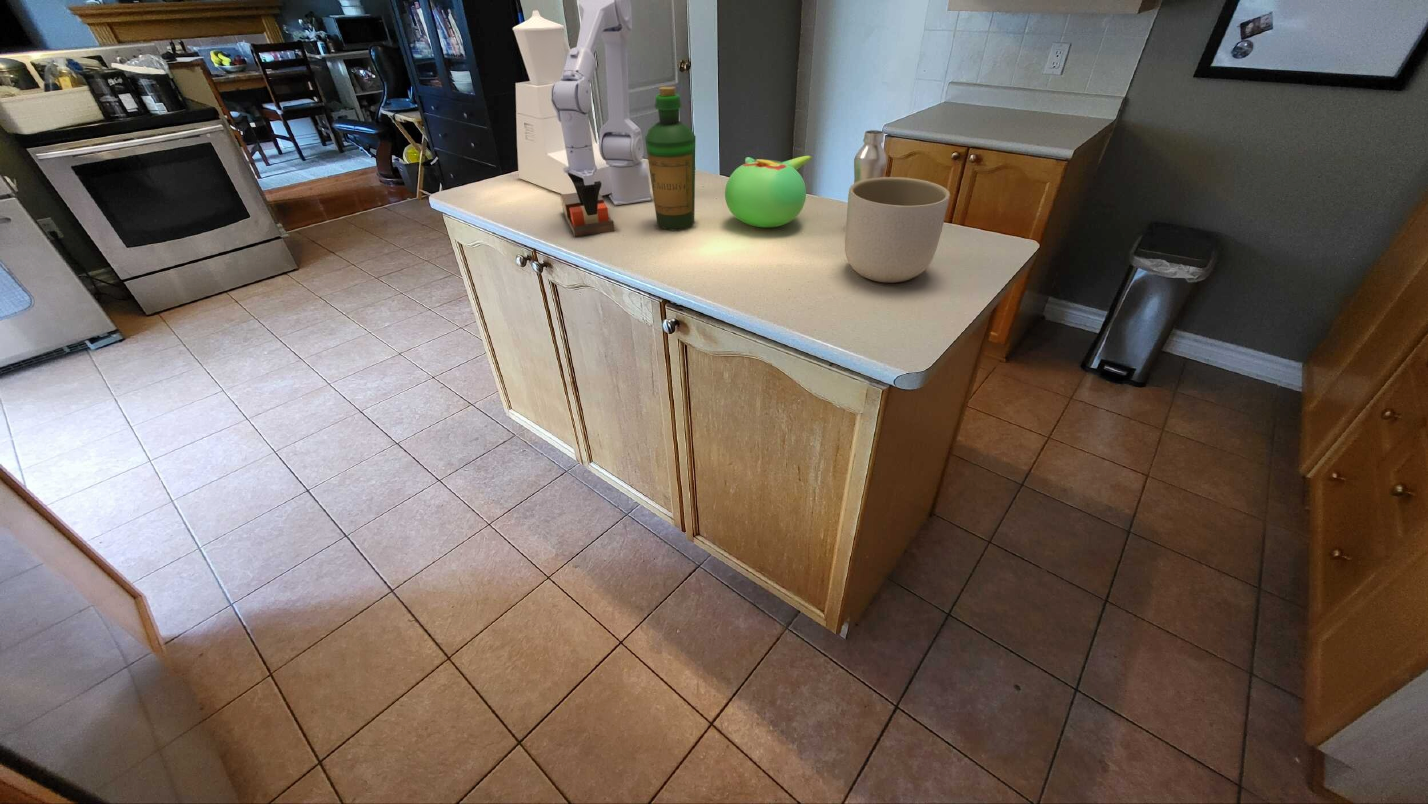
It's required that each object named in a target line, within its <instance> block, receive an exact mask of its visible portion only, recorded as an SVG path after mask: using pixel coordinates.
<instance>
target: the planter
mask: <svg viewBox="0 0 1428 804" xmlns="http://www.w3.org/2000/svg"><path fill="white" fill-rule="evenodd" d="M950 200H951V192H950V191H949V190H948V189H947V188H946V187H944V186H942V185H940V184H938V183H935V182H932V181H928V180H924V179H919V178H911V177H903V176H901V177H900V176H883V177H880V178H871V179H866V180H862V181H859V182H856V183H854V182H853V183H852V185H850V187H849V189H848V197H847V207H846V217H845V219H846V220H845V229H844V253H845V258H846V260H847V262H848V264H849V266H850V267H851V268H852V269H853V270H854V272H856V273H857V274H858V275H860V276H862V277H863V278H865V279H868V280H869V281H874V282H878V283H890V284H891V283H892V284H895V283H902V282H906V281H910V280H911V279H913V278H916V277H918V276H919V275H921V274H922V273H923V272H925V271H926V270H927V269H928V267H930V265H931V263H932V261H933V260H934V257H935V254H936V251H937V248H938V246H939V242H940V239H941V236H942V235H941V234H942V231H943V227H944V223H945V220H946V215H947V211H948V208H949V203H950Z"/></svg>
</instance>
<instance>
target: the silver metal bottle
mask: <svg viewBox="0 0 1428 804" xmlns="http://www.w3.org/2000/svg"><path fill="white" fill-rule="evenodd" d="M884 134H885V132H884V131H882V130H877V129H874V130H873V129H870V130H865V132H864V136H863V140H862V141H863V145H862V147H860V148H859V150H857V153H856V154H855V157H854V159H853V174H854V176H853V177H854V179H853V184H854V183H856V182H859V181H862V180H866V179H871V178H880V177H884V173H885V169H886V166H887V161H888V159H887V154H886V152H885V149H884V148H883V146H882V143H884V136H885V135H884Z"/></svg>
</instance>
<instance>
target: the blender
mask: <svg viewBox="0 0 1428 804" xmlns="http://www.w3.org/2000/svg"><path fill="white" fill-rule="evenodd" d="M531 13H532V14H531V17H530V18H528V19H527V20H525V21H523V22H521V23H518V24H517V25H515V26H513V27H512V31H513V33H514V36H515V39H516V43H517V45H518V48H519V52H520V54H521V57H522V60H523V64H524V67H525V69H526V74H527V75H528V79H529V80H527V81H521V82H515V111H516V112H515V119H516V149H517V171H518V173H517V174H518V178H519V179H521V180H524V181H525V182H528V183H532V184H534V185H537V186H539V187H542V188H544V189H547V190H550V191H553V192H555V193H558V194H560V195H563V194H570V193H577V192H576V189H575V186H574V184H573V182H572V180H571V178H570V177H569V176H568V174H567V173H564V170H563V168H566V167H569V166H568V160H567V154H566V148H565V143H564V137H563V131H562V125H561V122H559V120H558V118H557V113H556V111H555V109H554V107H553V105H552V102H551V98H552V97H551V90H552V86H553V85H554V84H555V83H556V82H558V81H560V80H561V76H562V73H563V70H564V67H565V63H566V59H565V56H566V58H567V57H568V54H569V51H570V50H571V49H572V48H571V47H570V45H569V42H568V40H567V38H566V36H565V32H564V31H565V29H564V28H565V26H564V25H563V24H560V23H559V22H555V21H552V20H549V19H546V18H545V17H542V16H541V14H540V12H539V10H536V9H535V10H532V12H531ZM589 124H590V131H591V138H592V145H593V152H594V159H595V165H596V166H597V170H596V172H595V174H594V175H593V178H594V182H597V181H600V182H601V184H602V185H601V188H600V191H599V193H600V195H601V196H602V197H603V196H606V195H611V194H612V186H611V178H610V171H609V165H606V161H604V160H603V159H602V157H601V155H600V152H599V143H597V142H596V138H595V135H594V131H593V128H592V124H591V121H590V120H589Z"/></svg>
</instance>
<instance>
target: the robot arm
mask: <svg viewBox="0 0 1428 804" xmlns="http://www.w3.org/2000/svg"><path fill="white" fill-rule="evenodd" d="M578 10H579V15H580V20H581V23H580V27H579V31H578V32H579V33H578V38H577V42H576V46H575V47H572V48H570V49H571V50H570V51H569V54H568V57H566V59H565V67H564V70H563V73H562V76H561V80H560V81H558V82H556V83H555V84H554V85H553V86H552V90H551V97H552V98H551V102H552V105H553V107H554V109H555V111H556V113H557V118H558V120H559V122H561V125H562V131H563V137H564V143H565V148H566V154H567V160H568V166H569V167H566V168H563V170H564V173H567V174H568V176H569V177H570V178H571V180H572V182H573V184H574V186H575V189H576V192H577V195H578V198H579V200H580V203H581V205H584V208H585V211H586V213H587V215H588V216H589V215H596V214H597V208H598V195H599V191H600V188H601V185H602V184H601V182H600V181H597V182H594V178H593V175H594V174H595V172H596V170H597V166H596V165H595V159H594V152H593V145H592V138H591V131H590V124H591V123H590V124H589V121H590V118H589V111H590V109H591V107H592V93H593V91H592V88H593V87H592V86H591V84H592V81H593V78H594V74H595V71H596V67H597V60H596V58H595V56H594V55H595V52H596V50H597V48H598V45H599V43H600V40H602V41H603V43H604V55H605V73H606V94H607V111H608V120H607V121H606V122H605V123H604V124H603V125H602V126H601V127H600V129H599V141H598V144H599V152H600V155H601V157H602V159H603V160H604V161H606V165H609V171H610V178H611V186H612V193H610V194H608V197H609V198H610V200H611V201H612V203H613V204H614V206H620V205H627V204H635V203H642V202H650V201H652V196H651V186H650V176H649V175H650V174H649V169H648V166H647V163H646V162H645V160H644V161H643V160H642V159H643V157H644V154H645V153H644V151H645V147H644V142H643V137H642V129H641V128H640V127H639V126H638V125H637V124H635V123H634V122H633V121H632V120H631V119H630V97H629V95H630V94H629V71H628V70H629V69H628V68H629V67H628V43H627V41H628V40H627V39H628V38H629V37H631V36H632V34H633V33H632V32H633V14H632V11H633V10H632V4H631V0H578ZM618 133H621V134H618ZM622 133H625V134H622Z"/></svg>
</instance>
